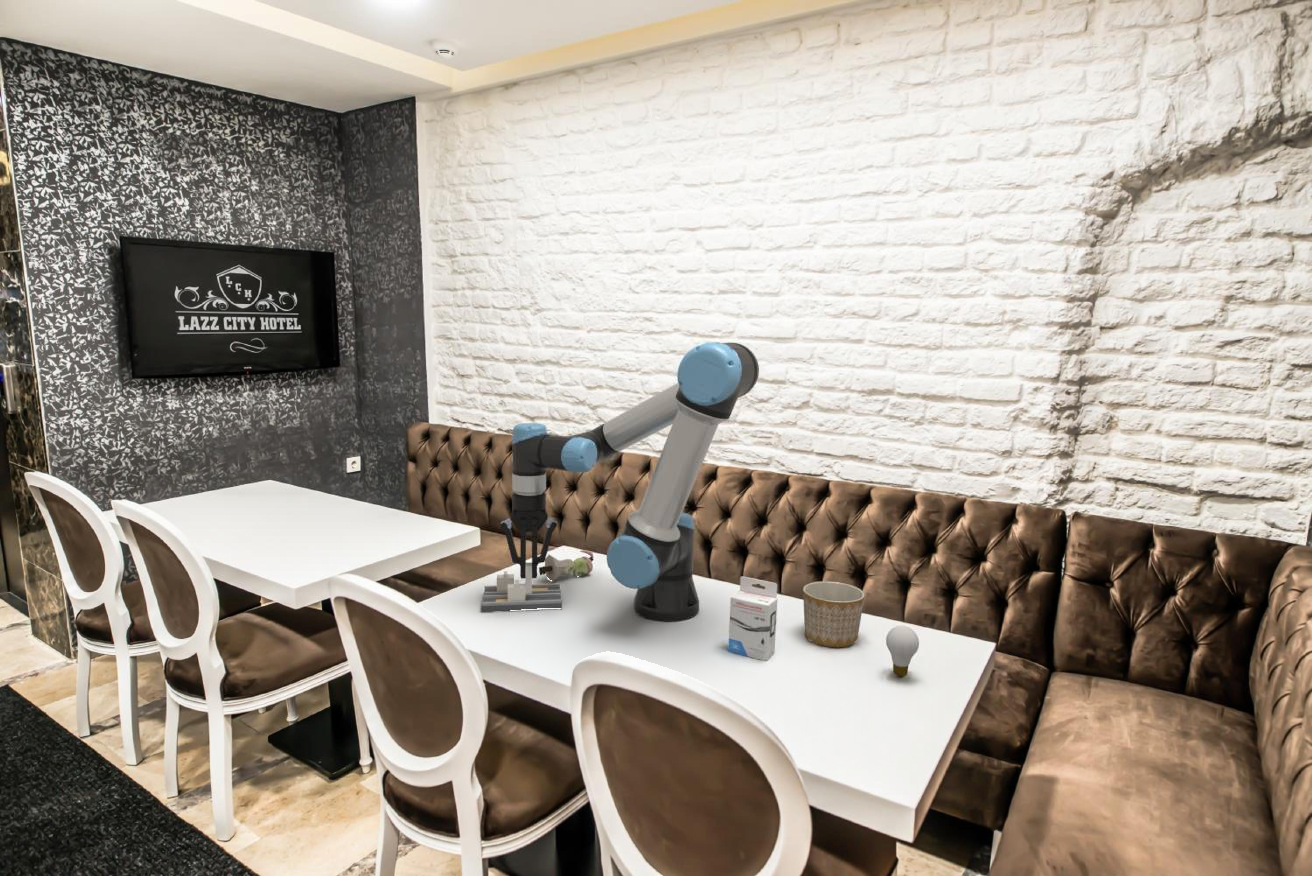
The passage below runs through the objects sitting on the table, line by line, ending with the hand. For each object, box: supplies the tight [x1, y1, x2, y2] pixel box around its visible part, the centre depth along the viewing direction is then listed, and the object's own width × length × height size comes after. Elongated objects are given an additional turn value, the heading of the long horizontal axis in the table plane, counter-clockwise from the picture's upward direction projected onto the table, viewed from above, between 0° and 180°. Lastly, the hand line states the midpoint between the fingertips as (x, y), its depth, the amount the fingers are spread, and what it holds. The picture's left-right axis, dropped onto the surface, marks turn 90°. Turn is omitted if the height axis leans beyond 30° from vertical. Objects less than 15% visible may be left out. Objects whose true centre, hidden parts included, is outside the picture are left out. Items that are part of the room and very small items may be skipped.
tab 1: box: [496, 570, 515, 592], centre depth 179 cm, size 4×2×4 cm, turn 99°
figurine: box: [538, 549, 595, 582], centre depth 195 cm, size 9×7×15 cm
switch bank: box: [481, 582, 563, 613], centre depth 177 cm, size 18×12×2 cm, turn 99°
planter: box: [802, 580, 865, 648], centre depth 159 cm, size 13×13×10 cm
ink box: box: [727, 575, 778, 662], centre depth 151 cm, size 8×5×15 cm, turn 60°
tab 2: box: [508, 579, 526, 601], centre depth 173 cm, size 4×2×4 cm, turn 99°
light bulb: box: [885, 625, 920, 679], centre depth 142 cm, size 6×6×10 cm
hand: (528, 591), depth 174 cm, fingers closed
